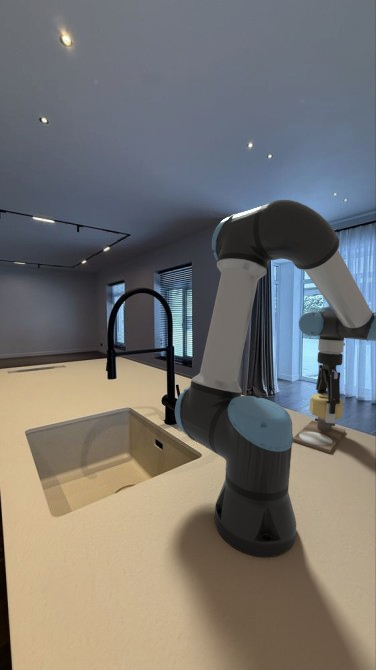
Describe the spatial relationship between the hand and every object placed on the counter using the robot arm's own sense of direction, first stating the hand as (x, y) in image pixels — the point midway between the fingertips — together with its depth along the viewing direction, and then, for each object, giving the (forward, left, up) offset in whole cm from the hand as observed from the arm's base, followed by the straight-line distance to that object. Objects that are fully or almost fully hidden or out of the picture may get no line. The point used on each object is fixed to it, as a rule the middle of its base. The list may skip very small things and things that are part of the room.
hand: (325, 416), depth 97 cm
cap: (0, 0, +1) cm, 1 cm away
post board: (-5, 0, -5) cm, 7 cm away
